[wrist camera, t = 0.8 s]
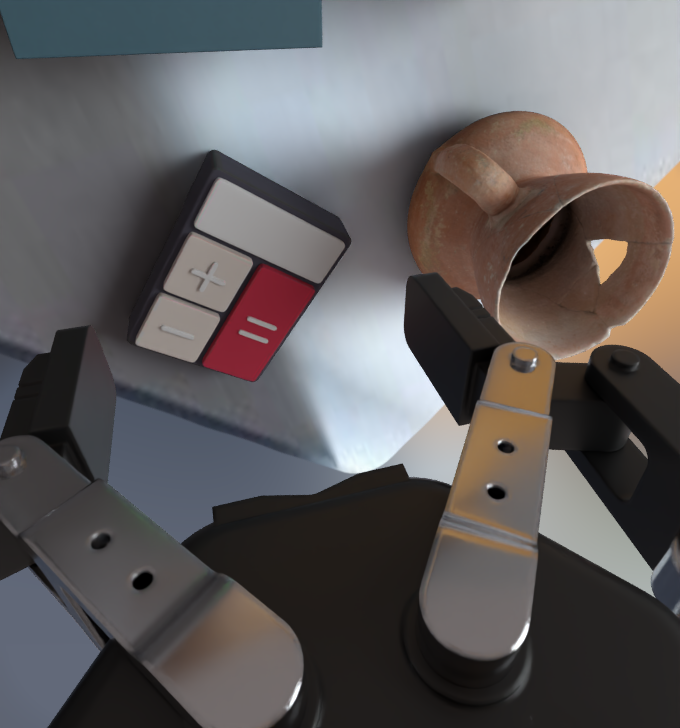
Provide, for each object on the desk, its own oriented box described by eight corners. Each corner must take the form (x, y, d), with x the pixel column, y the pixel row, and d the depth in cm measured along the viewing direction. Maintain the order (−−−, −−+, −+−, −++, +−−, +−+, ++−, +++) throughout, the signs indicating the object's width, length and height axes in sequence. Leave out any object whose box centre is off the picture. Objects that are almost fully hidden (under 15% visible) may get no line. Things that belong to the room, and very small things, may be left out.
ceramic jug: (592, 197, 46) (726, 273, 35) (467, 312, 50) (552, 412, 39) (487, 28, 35) (632, 61, 24) (339, 192, 39) (407, 283, 28)
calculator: (124, 349, 38) (214, 169, 32) (127, 316, 41) (210, 146, 35) (257, 390, 44) (357, 244, 37) (251, 358, 47) (342, 219, 40)
